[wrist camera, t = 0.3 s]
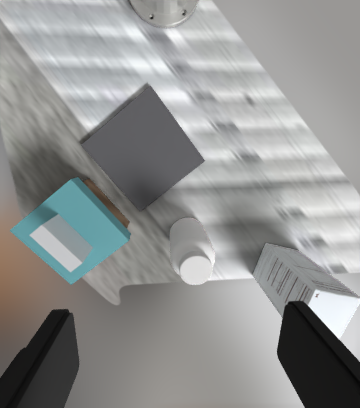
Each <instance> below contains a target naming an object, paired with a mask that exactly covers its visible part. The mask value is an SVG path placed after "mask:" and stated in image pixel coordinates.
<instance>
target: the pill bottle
mask: <svg viewBox="0 0 360 408" xmlns="http://www.w3.org/2000/svg"><path fill="white" fill-rule="evenodd" d="M169 237H170V261H171V265H172V267H173V269H174V270H175V271H176V273H177V274H179V275H180V277H181V278H182V279H183V280H184V281H185V282H186V283H188V284H191V285H198V284H202V283H204V282H206V281H207V280H208V279H209V278H210V276H211V274H212V270H213V268H212V267H213V265H214V262H215V251H214V249H213V246H212V244H211V242H210V240H209V238H208V235H207V233H206V231H205V229H204V227H203V225H202V224H201V223H200V222H199V221H198V220H196V219H194V218H189V217H186V218H182V219H179V220H178V221H176V222H175V223H174V224H173V225H172V227H171V230H170V235H169Z"/></svg>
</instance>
